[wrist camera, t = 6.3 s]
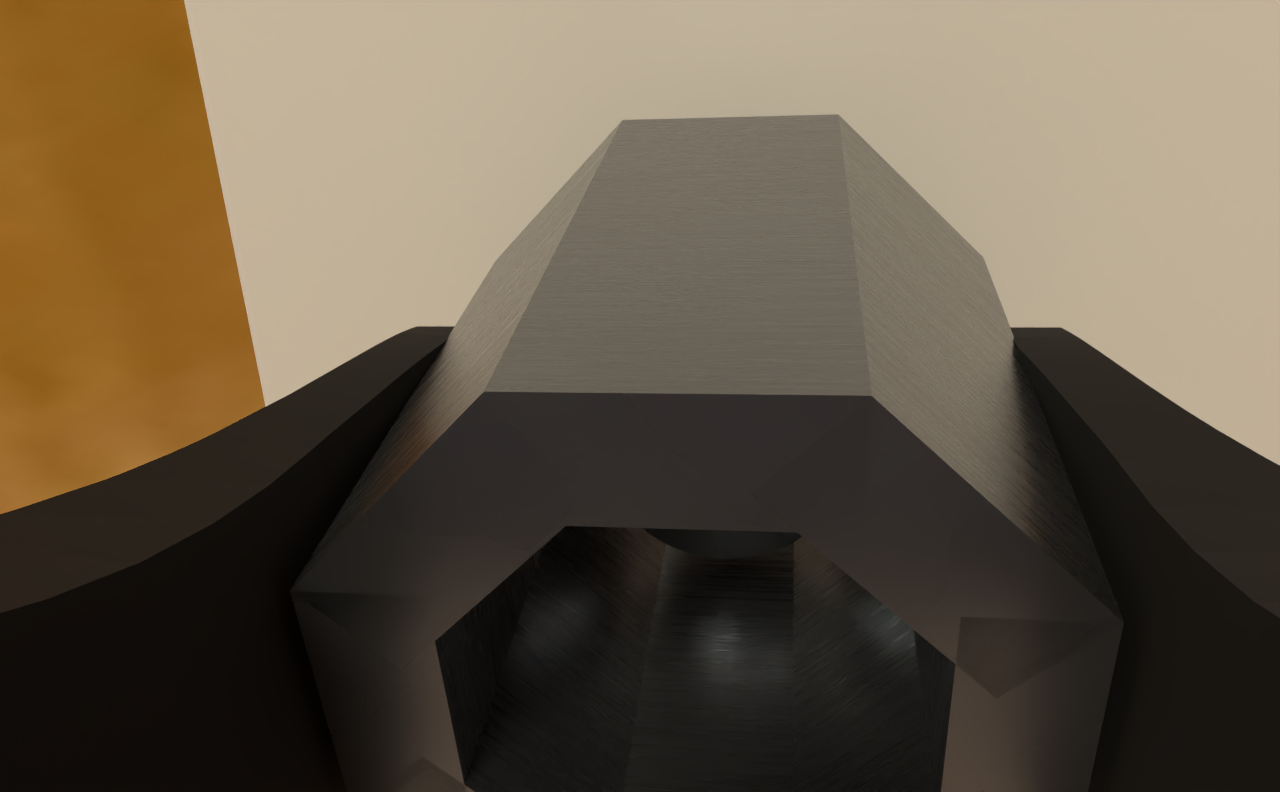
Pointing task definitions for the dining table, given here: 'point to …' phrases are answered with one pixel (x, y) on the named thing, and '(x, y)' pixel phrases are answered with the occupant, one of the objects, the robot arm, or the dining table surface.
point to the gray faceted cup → (718, 503)
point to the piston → (724, 541)
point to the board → (766, 86)
